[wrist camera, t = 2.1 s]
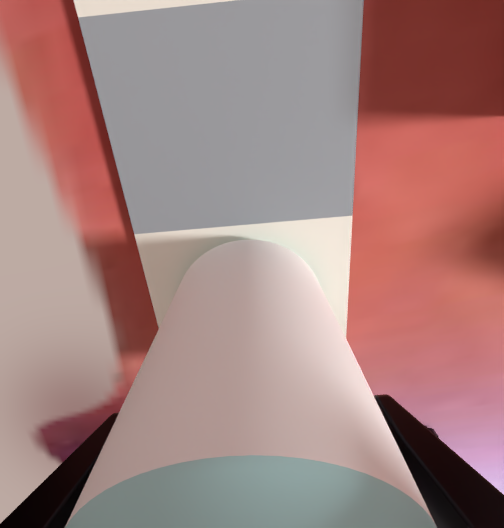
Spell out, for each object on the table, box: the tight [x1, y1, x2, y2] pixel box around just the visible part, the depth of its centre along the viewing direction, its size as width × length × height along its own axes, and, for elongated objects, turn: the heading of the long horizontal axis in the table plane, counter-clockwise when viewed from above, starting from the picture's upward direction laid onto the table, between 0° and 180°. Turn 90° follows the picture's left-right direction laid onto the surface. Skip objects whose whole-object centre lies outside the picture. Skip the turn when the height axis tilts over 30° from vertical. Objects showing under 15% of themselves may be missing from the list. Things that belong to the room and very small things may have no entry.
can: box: [65, 240, 437, 528], centre depth 9 cm, size 7×7×12 cm
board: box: [74, 0, 364, 338], centre depth 10 cm, size 32×10×1 cm, turn 5°
